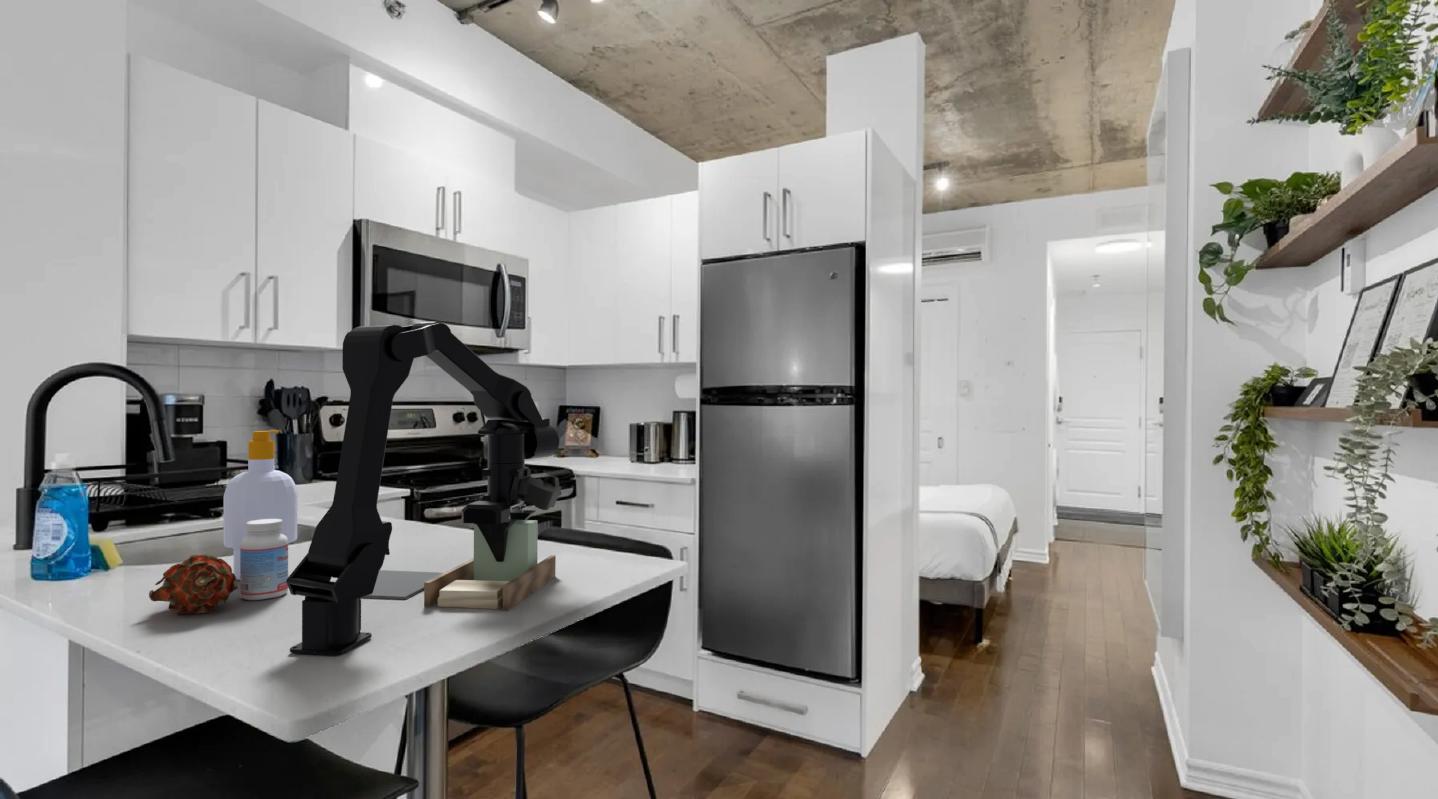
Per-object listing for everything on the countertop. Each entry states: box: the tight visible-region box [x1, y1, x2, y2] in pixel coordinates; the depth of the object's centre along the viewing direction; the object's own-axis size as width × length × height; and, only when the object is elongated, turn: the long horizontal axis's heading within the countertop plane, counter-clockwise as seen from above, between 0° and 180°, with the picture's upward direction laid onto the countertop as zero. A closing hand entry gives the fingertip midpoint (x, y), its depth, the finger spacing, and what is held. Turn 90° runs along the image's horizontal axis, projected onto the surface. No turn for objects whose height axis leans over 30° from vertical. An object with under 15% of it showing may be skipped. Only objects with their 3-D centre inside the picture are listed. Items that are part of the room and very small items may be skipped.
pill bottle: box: [239, 519, 289, 601], centre depth 105 cm, size 6×6×11 cm
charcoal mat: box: [360, 569, 444, 600], centre depth 111 cm, size 14×14×1 cm
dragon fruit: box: [148, 554, 239, 615], centre depth 98 cm, size 8×8×12 cm
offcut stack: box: [437, 580, 509, 610], centre depth 103 cm, size 6×9×2 cm
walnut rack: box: [423, 554, 557, 612], centre depth 109 cm, size 19×13×4 cm, turn 173°
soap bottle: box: [223, 429, 298, 581], centre depth 116 cm, size 10×10×24 cm
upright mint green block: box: [473, 519, 539, 581], centre depth 113 cm, size 4×9×10 cm, turn 83°
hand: (505, 558), depth 113 cm, fingers closed on upright mint green block, 4 cm apart
